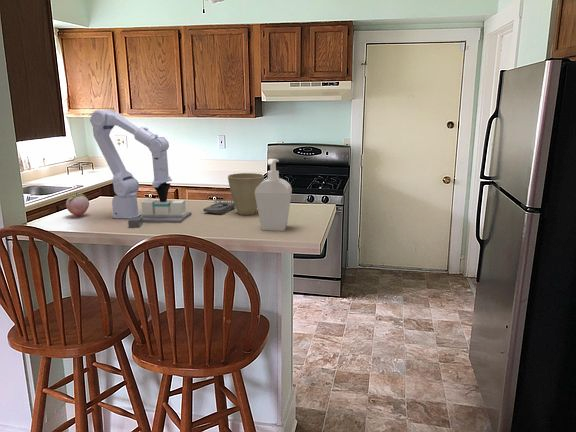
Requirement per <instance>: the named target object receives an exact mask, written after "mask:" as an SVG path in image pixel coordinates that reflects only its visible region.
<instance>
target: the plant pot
mask: <svg viewBox="0 0 576 432" xmlns="http://www.w3.org/2000/svg"><path fill="white" fill-rule="evenodd" d="M264 176H265V175H264V174H261V173H256V172H254V173H252V172H240V173H232V174H229V175H227V179H228V187H229V190H230V195H231V197H232V200H233V202H234V204H235V207H236V209H235V210H236V212H237V214H239V215H244V216H248V215H249V216H251V215H254V214H256V211H258V208H257V203H256V198H255V190H256V188H257V187H258V185H259V184H260V183H262V182H263V181H264Z"/></svg>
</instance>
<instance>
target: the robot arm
mask: <svg viewBox="0 0 576 432" xmlns="http://www.w3.org/2000/svg"><path fill="white" fill-rule="evenodd" d="M89 121H90V122H89V123H90V124H91V126H92V133H93V138H94V140H95V141H96V144H97V146H98V147H99V150H100V152H101V154H102V155H103V157H104V159H105V162H106V163H107V165H108V167H109V170H110V171H111V173H112V175H113V176H112V180H111V183H112V185H113V191H114V193H115V194H116V195H114V196H113V198H112V202H111V206H112V214H113V215H112V219H130V218H131V217H141V216H142V212H139V205H138V196H137V194H138V193H137V192H138V190H139V189H140V183H139V181H138V180H137V179H136V178H135V177H134V175H133V174H132V173H131V172H130V171H128V170H127V169H126V166H125V164H124V163H123V160H122V159H121V157H120V155H119V153H118V150H117V149H116V146H115V144H114V143H113V140H112V138H111V136H110V135H111V132H112V130H113V129H114V128H115V126H117V127H119V128H120V129H123V130H125V132H127V133H130V134H132V135H133V137H134V139H135V140H136V141H137V142H139V143H141V144H143V145H144V146H145V147H147V148H148V150H149V151H150V153H151V157H152V167H153V168H152V169H153V178H154V179H153V181H152V182H151V184H152V188H153V189H154V190H155V191H156V194H157V196H158V200H160V202H166V201H167V200H168V194H169V190H170V187H171V183H168V182H172V181H173V178H171V176H170V175H169V163H168V151H167V150H169V148H170V143H169V141H168V140H167V138H166V137H164V136H160V137H159V134H157V133H153V132H152V131H150V130H149V128H148V127H146V126H145V127H144V126H141V127H138V126H137V125H135V124H134V123H132V122H131V121H130V120H128V119H126V118H125V117H124V116H123V115H121V114H120V112H116V111H115V110H113V109H105V110H102V109H101V110H99V109H96V110H94V111H93V112H92V113H91V116H90V118H89Z"/></svg>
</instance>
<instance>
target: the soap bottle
mask: <svg viewBox="0 0 576 432" xmlns="http://www.w3.org/2000/svg"><path fill="white" fill-rule="evenodd" d="M279 162H280V160H279V159H278V158H268V160H267V165H268V166H269V167H270V170H268V171H267V179H265V180H264V179H263V182H262V183H260V184H259V185H258V187H257V188H256V190H255V198H256V203H257V213H258V218H259V223H260V228H261V231H278V232H279V231H280V232H281V231H283V232H284V231H285V230H286V228H287V227H288V219H289V213H290V207H291V200H292V199H291V198H292V191H293V188H292V184H290V183H289V182H288V181H287V180H285V179H283V178H281V177H280V175H279V174H280V171H279V170H277V167H276V166H277V165H276V164H277V163H279Z"/></svg>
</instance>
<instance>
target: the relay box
mask: <svg viewBox="0 0 576 432" xmlns="http://www.w3.org/2000/svg"><path fill="white" fill-rule="evenodd" d="M143 223H144V222H143V221H142V216H138V217H131V218H128V220H127V225H128V228H129V229H132V228H133V229H136V228H141V227H142V225H143Z"/></svg>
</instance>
